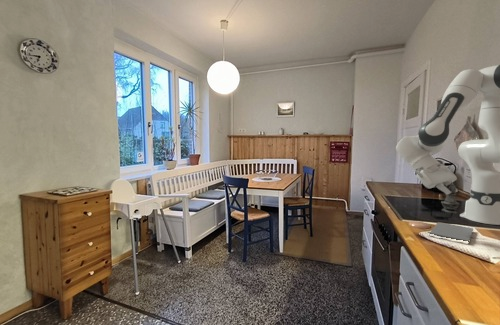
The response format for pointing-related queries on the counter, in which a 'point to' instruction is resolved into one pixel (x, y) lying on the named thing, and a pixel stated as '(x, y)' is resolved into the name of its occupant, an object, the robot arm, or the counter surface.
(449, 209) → the black rounded upright piece
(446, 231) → the slate board
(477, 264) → the counter surface
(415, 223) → the peach domed round part
